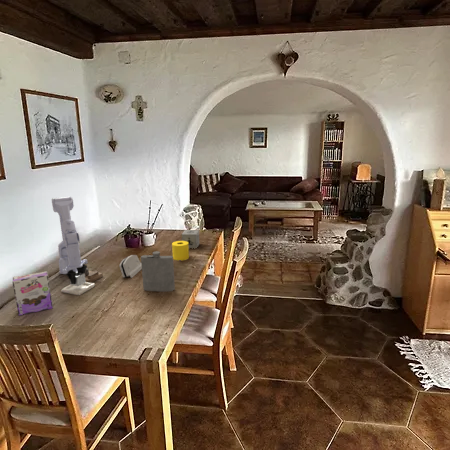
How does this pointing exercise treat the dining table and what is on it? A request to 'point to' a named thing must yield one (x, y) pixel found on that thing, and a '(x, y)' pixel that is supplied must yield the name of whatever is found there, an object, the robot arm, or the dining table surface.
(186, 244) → the yellow hollow cylinder
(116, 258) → the dining table surface
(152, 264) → the hip flask
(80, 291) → the dish
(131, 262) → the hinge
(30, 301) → the candy box
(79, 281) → the sleeve
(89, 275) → the vise block
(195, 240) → the icon cube
